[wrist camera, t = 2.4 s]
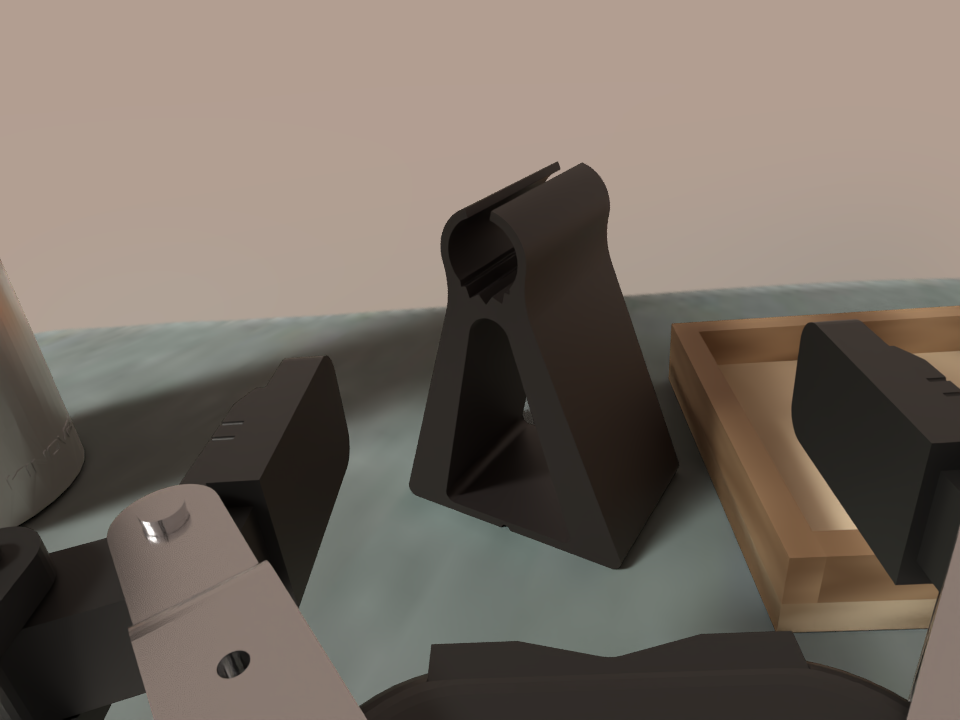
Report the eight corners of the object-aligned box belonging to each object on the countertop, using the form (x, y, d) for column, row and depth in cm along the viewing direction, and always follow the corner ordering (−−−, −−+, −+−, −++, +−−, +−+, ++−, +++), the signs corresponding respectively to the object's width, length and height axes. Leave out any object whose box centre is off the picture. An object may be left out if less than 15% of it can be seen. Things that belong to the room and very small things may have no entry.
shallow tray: (776, 633, 20) (789, 558, 19) (668, 378, 33) (671, 323, 32) (1323, 616, 19) (1382, 535, 18) (988, 360, 32) (1006, 302, 31)
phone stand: (409, 492, 27) (359, 198, 22) (489, 418, 32) (464, 156, 26) (619, 573, 23) (625, 224, 17) (679, 473, 27) (700, 168, 21)
